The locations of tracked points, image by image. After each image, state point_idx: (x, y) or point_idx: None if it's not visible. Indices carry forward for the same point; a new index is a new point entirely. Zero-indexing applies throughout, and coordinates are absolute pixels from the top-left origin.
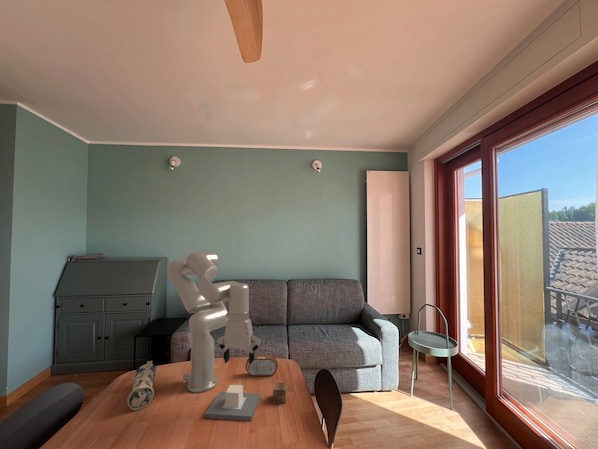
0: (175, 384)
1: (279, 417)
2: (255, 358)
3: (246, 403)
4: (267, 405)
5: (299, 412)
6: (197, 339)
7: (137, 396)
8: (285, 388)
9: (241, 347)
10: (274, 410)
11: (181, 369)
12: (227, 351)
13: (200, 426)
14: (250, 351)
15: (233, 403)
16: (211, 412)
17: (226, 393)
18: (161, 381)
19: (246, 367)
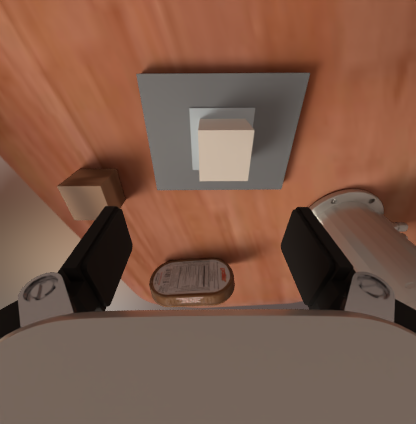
0: (411, 215)
1: (61, 103)
2: (206, 296)
3: (182, 143)
4: (126, 155)
5: (17, 133)
6: None
7: None
8: (63, 194)
9: (121, 335)
10: (94, 135)
11: None
12: (322, 285)
13: (311, 17)
14: (59, 289)
15: (217, 120)
16: (286, 80)
17: (249, 128)
18: None
19: (230, 273)
